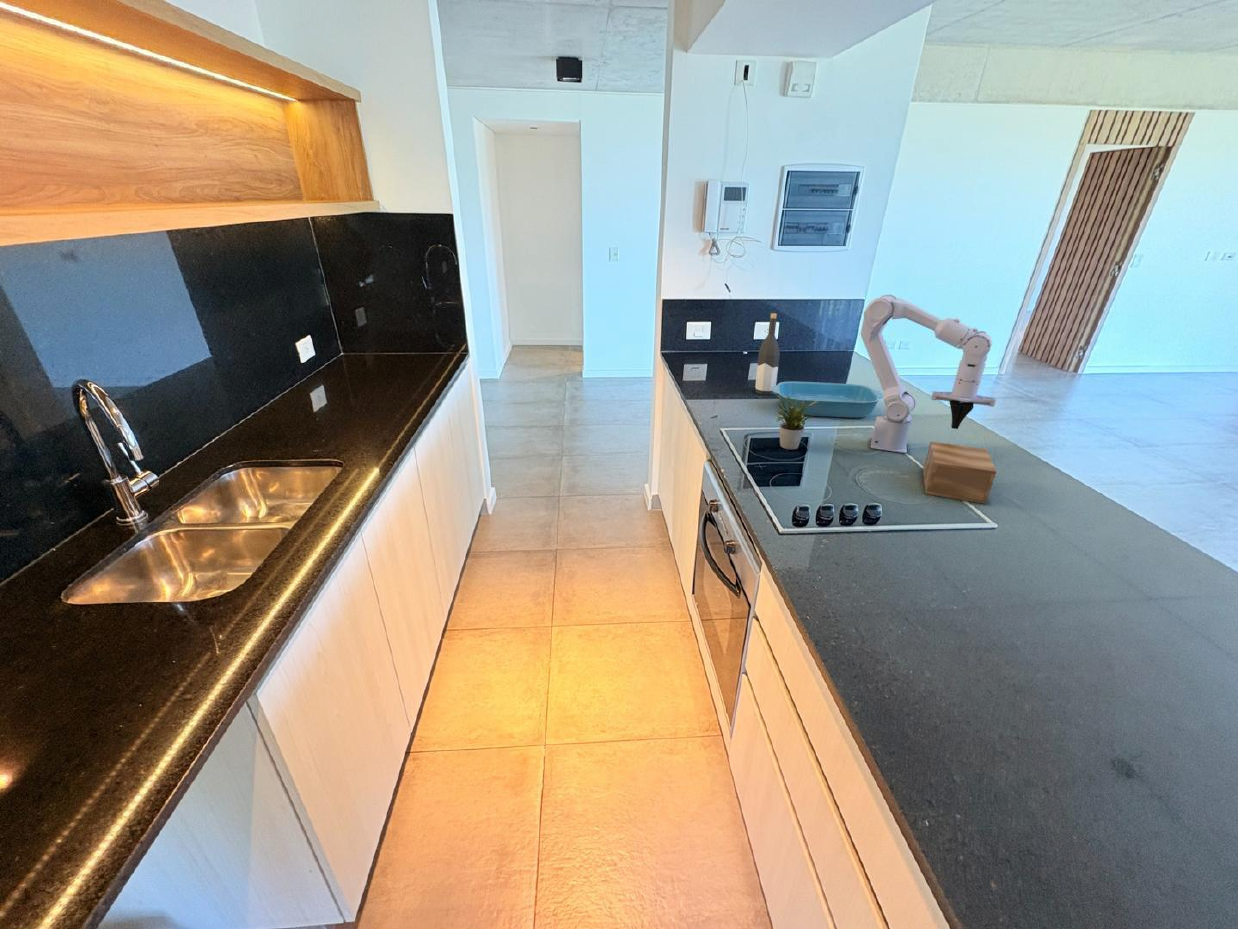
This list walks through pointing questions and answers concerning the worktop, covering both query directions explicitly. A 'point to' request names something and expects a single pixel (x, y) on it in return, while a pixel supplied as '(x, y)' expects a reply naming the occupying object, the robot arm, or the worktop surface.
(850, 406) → the casserole dish
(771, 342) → the wine bottle
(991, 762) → the worktop surface
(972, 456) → the wooden box
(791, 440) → the house plant
